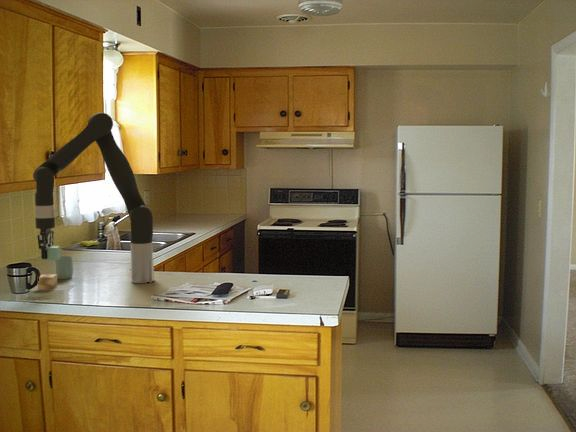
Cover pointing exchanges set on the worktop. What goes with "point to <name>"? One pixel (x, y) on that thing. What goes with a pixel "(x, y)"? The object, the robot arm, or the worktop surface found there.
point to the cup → (64, 267)
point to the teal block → (53, 253)
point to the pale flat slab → (59, 287)
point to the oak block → (47, 281)
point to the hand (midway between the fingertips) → (46, 257)
